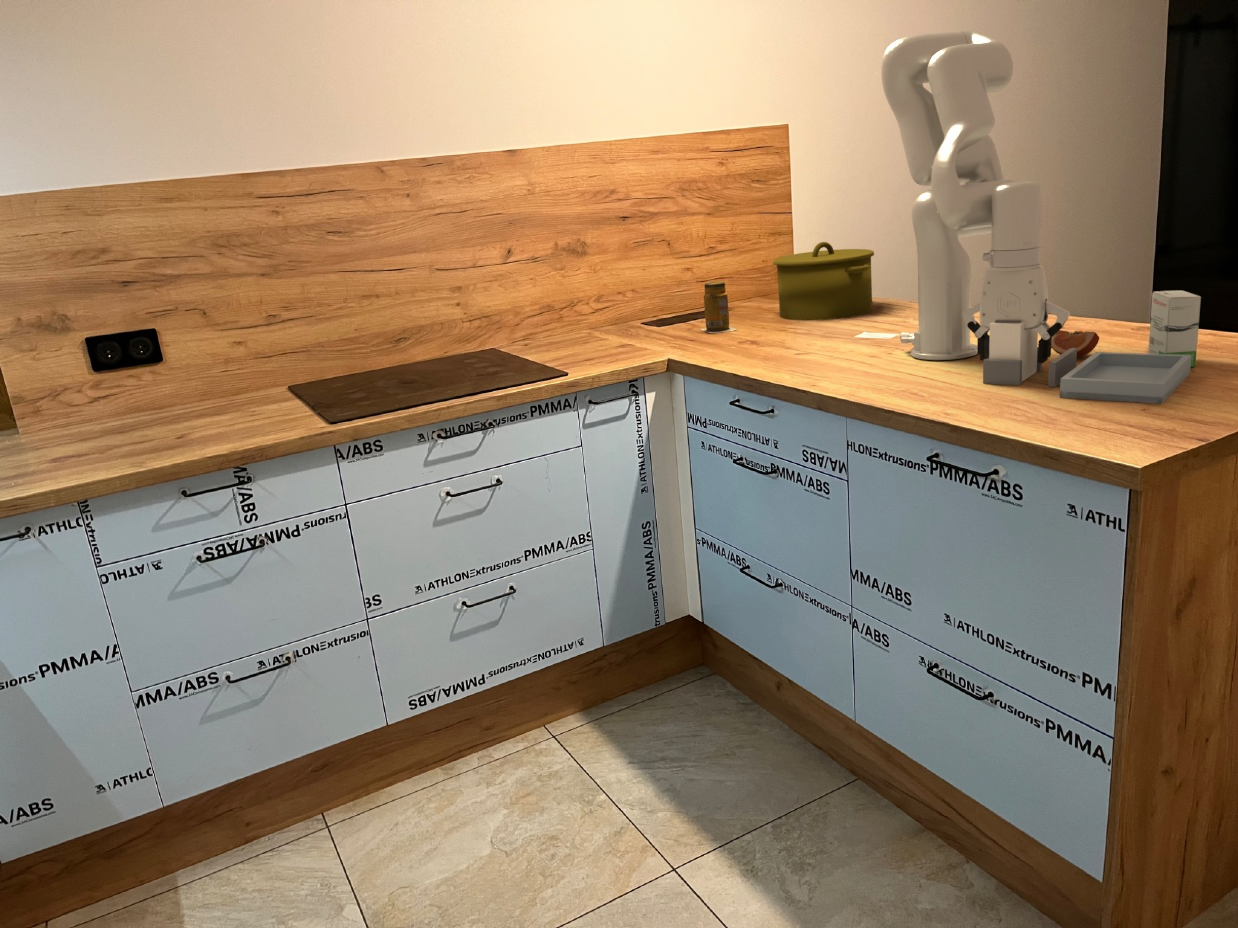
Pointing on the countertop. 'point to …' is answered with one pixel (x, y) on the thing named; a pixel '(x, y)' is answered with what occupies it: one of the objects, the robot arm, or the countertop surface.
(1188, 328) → the ink box
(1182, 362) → the tray
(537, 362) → the countertop surface
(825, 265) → the cooking pot
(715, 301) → the condiment
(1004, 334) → the grey-panelled white block
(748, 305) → the countertop surface
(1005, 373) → the dock
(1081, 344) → the fruit slice
